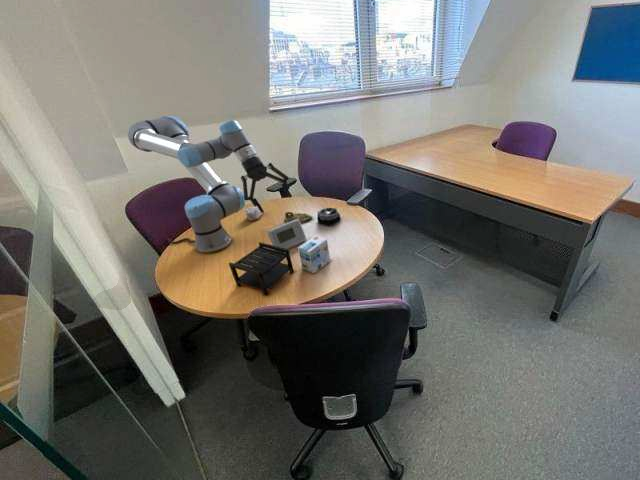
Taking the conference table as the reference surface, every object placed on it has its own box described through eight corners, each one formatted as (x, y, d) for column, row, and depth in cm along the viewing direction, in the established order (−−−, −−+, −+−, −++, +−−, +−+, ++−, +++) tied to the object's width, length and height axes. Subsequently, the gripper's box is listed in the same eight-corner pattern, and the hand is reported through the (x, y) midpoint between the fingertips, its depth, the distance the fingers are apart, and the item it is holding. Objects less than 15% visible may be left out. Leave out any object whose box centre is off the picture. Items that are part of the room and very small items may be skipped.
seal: (314, 216, 171) (287, 217, 172) (313, 208, 169) (286, 209, 170) (310, 223, 163) (282, 223, 163) (309, 214, 161) (280, 215, 161)
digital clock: (275, 255, 138) (269, 234, 132) (269, 246, 145) (264, 226, 139) (309, 243, 145) (305, 223, 140) (302, 235, 152) (298, 216, 146)
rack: (237, 286, 121) (228, 263, 115) (266, 263, 133) (259, 242, 127) (266, 296, 115) (258, 272, 109) (294, 271, 127) (288, 249, 121)
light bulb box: (314, 274, 125) (309, 251, 119) (301, 269, 128) (297, 247, 123) (331, 260, 133) (327, 239, 127) (319, 256, 136) (315, 235, 130)
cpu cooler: (341, 209, 162) (329, 217, 155) (342, 219, 165) (331, 227, 158) (326, 205, 167) (313, 213, 159) (327, 215, 170) (315, 223, 162)
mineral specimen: (253, 212, 177) (250, 202, 174) (265, 212, 177) (262, 202, 173) (242, 222, 167) (239, 212, 163) (255, 222, 166) (252, 212, 163)
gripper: (220, 170, 119) (251, 218, 125) (277, 144, 129) (304, 190, 135) (219, 173, 125) (249, 219, 131) (274, 148, 135) (299, 192, 141)
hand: (277, 204), depth 133 cm, fingers open, 13 cm apart
